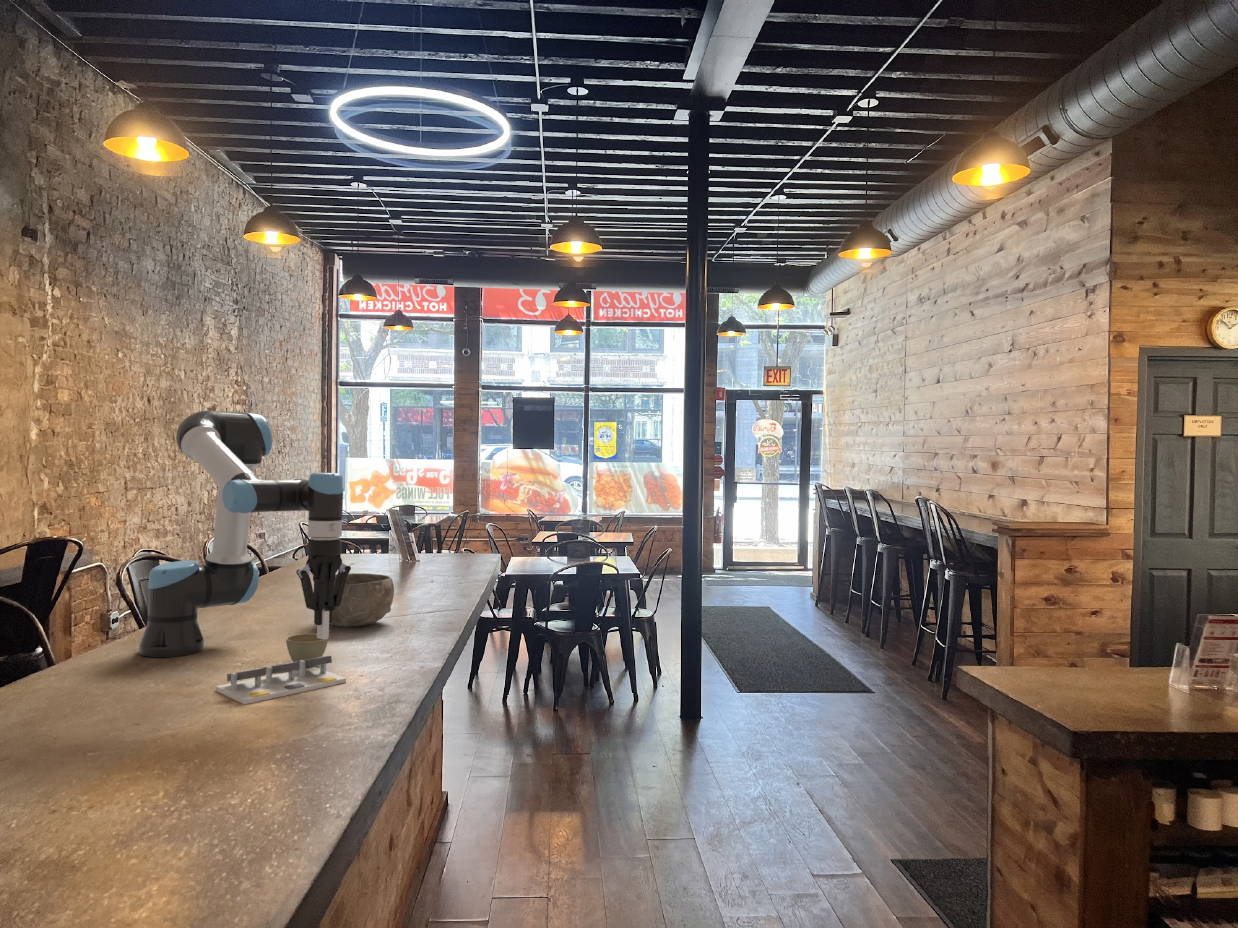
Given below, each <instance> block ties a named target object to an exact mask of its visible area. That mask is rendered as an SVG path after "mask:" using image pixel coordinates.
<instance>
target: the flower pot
mask: <svg viewBox="0 0 1238 928" xmlns="http://www.w3.org/2000/svg"><path fill="white" fill-rule="evenodd" d="M285 640H286V648H287V651H288V654H289V656H290V659H291V662H296V661H300V660H307V659H313V658H319V657H321V656H324V654H325V652H326V649H327V646H328V642H329V639H319V638H317V633H298V634H294V635H290V636H289V635H288V636H286V639H285ZM312 667H316V666H310V667H305V669H307V668H312Z"/></svg>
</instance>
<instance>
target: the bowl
mask: <svg viewBox="0 0 1238 928" xmlns="http://www.w3.org/2000/svg"><path fill="white" fill-rule="evenodd" d="M337 574H338V573H336V574H335V581H334V586H335V582H336V578H337ZM313 593H314V589H313ZM394 596H395V586H394V581H393V579H392V577H391V576H389V575H385V574H377V573H359V572H358V573H353V572H352V573H348V575H347V578H346V583H345V587H344V591H343V595H342V600H341V604H340V606H339V607H335V610H334V611H332V623H330V624H331V625H334V626H341V627H363V626H368V625H371V624H375V623H377V622H378V621H380V620H382V619H383V618H384V617H385V616H386V615H387V614H389V613H390V612H391V610H392V608H391V606H392V604H393V602H394ZM323 609H324V604H323ZM324 610H325V609H324ZM330 624H329V625H330Z"/></svg>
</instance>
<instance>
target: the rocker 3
mask: <svg viewBox="0 0 1238 928" xmlns="http://www.w3.org/2000/svg"><path fill="white" fill-rule="evenodd" d="M323 656H324V655H323ZM303 661H305V667H310V666H315V667H317V666H320V665H322V664H326V665H327V664H332V663H333V659H332V655H325V656H324V657H319V658H313V659H307V660H303ZM296 662H299V661H296Z"/></svg>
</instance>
